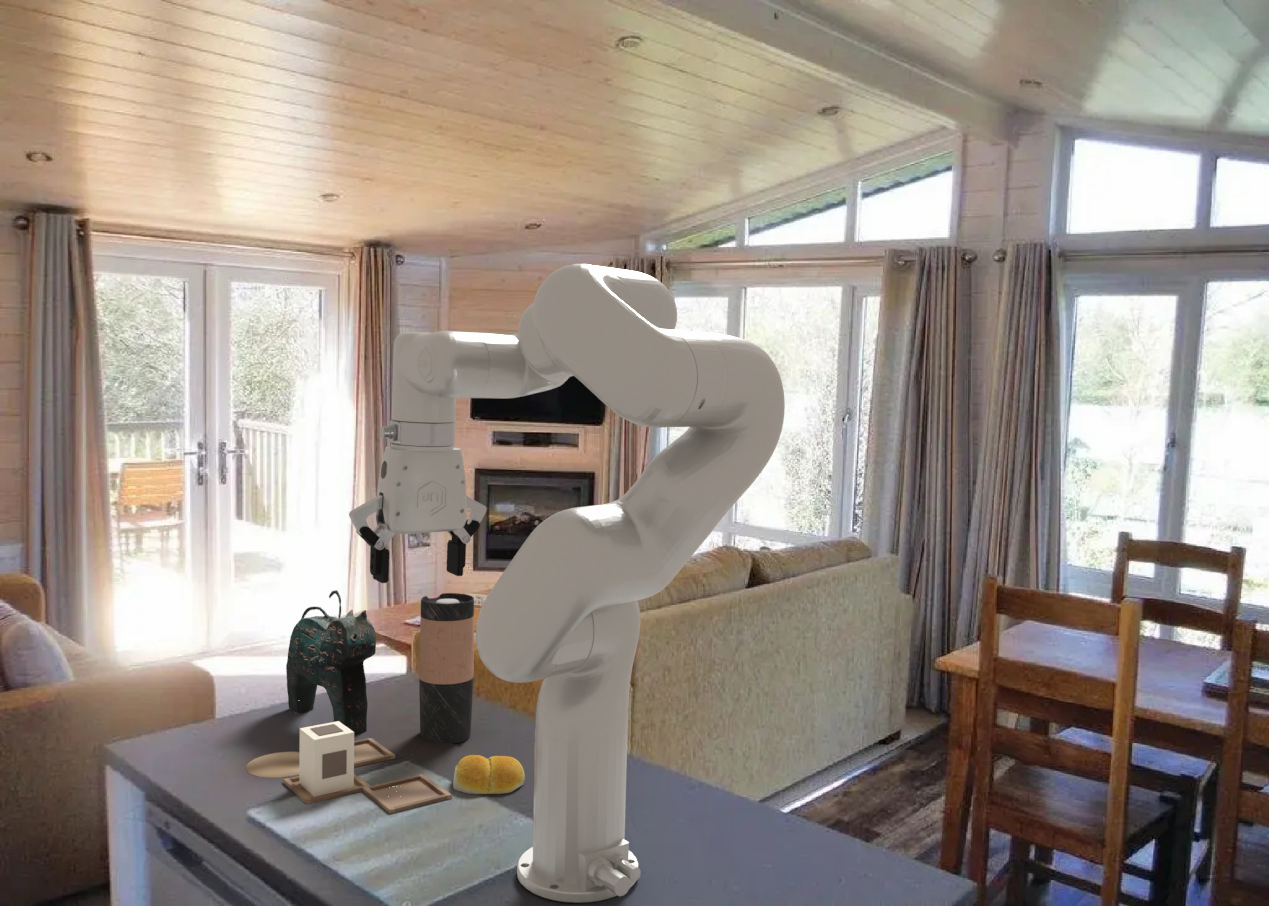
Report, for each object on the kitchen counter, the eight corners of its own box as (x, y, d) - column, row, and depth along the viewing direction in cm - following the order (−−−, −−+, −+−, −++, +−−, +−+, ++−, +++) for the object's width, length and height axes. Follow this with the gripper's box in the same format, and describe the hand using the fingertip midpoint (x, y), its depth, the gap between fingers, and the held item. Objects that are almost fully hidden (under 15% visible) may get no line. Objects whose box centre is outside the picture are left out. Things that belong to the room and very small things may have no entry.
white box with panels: (354, 788, 126) (354, 731, 126) (314, 797, 123) (314, 739, 123) (338, 775, 130) (338, 720, 130) (299, 783, 127) (299, 727, 127)
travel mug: (467, 746, 143) (469, 604, 142) (412, 744, 143) (414, 603, 142) (476, 728, 151) (479, 593, 149) (425, 726, 151) (426, 592, 150)
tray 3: (451, 801, 124) (452, 794, 124) (390, 816, 119) (390, 810, 119) (422, 780, 131) (422, 773, 131) (362, 794, 126) (362, 787, 126)
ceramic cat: (379, 735, 147) (381, 597, 145) (338, 745, 142) (339, 603, 141) (312, 702, 161) (313, 576, 159) (273, 710, 156) (273, 580, 155)
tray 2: (395, 760, 137) (395, 755, 137) (337, 773, 132) (337, 767, 132) (370, 743, 143) (371, 737, 143) (314, 754, 138) (314, 748, 138)
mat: (329, 770, 133) (329, 767, 133) (258, 785, 127) (258, 782, 127) (304, 750, 140) (304, 747, 140) (236, 763, 134) (236, 760, 134)
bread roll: (526, 798, 126) (526, 766, 126) (452, 800, 125) (453, 768, 125) (522, 772, 135) (523, 742, 134) (453, 774, 133) (453, 744, 133)
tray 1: (370, 792, 126) (370, 785, 126) (306, 807, 121) (306, 800, 121) (344, 771, 133) (345, 765, 133) (283, 785, 128) (283, 779, 128)
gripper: (365, 439, 114) (361, 590, 116) (502, 439, 125) (496, 577, 126) (341, 433, 120) (337, 577, 122) (473, 433, 131) (468, 566, 132)
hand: (418, 577), depth 124 cm, fingers open, 9 cm apart
